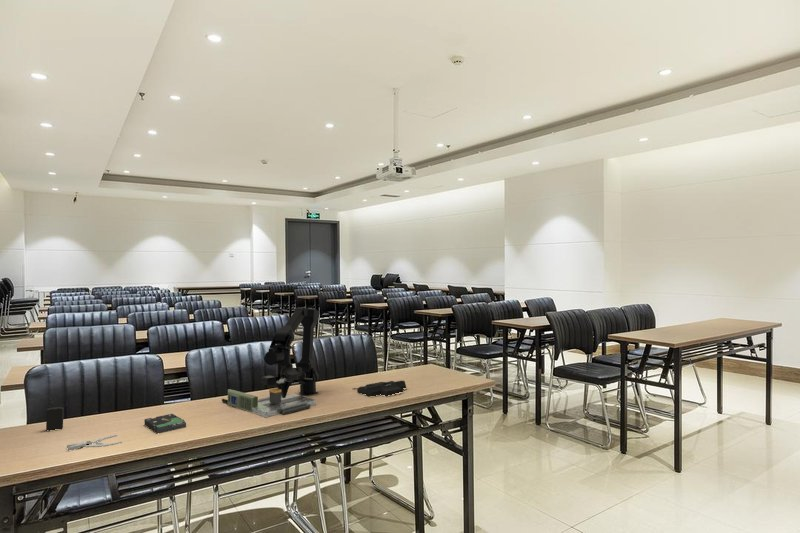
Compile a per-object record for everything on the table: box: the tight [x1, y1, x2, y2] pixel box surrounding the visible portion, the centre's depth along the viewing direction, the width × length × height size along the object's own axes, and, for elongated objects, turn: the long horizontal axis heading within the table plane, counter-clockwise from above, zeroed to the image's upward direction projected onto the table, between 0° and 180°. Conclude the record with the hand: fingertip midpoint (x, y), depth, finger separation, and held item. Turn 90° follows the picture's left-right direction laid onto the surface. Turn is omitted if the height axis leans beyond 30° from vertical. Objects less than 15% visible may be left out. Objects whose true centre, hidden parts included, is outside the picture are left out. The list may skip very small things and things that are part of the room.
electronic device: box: [352, 380, 407, 397], centre depth 233 cm, size 21×30×5 cm
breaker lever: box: [268, 387, 281, 404], centre depth 203 cm, size 3×4×6 cm
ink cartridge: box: [45, 406, 64, 432], centre depth 180 cm, size 5×2×8 cm, turn 119°
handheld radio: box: [221, 388, 259, 414], centre depth 206 cm, size 7×3×25 cm
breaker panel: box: [251, 393, 317, 418], centre depth 205 cm, size 24×16×2 cm, turn 136°
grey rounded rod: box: [258, 395, 282, 402], centre depth 212 cm, size 13×4×3 cm, turn 136°
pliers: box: [66, 434, 123, 452], centre depth 163 cm, size 10×2×15 cm
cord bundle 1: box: [279, 401, 311, 416], centre depth 199 cm, size 13×4×3 cm, turn 136°
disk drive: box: [144, 413, 187, 434], centre depth 182 cm, size 10×3×15 cm
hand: (284, 397), depth 206 cm, fingers closed
